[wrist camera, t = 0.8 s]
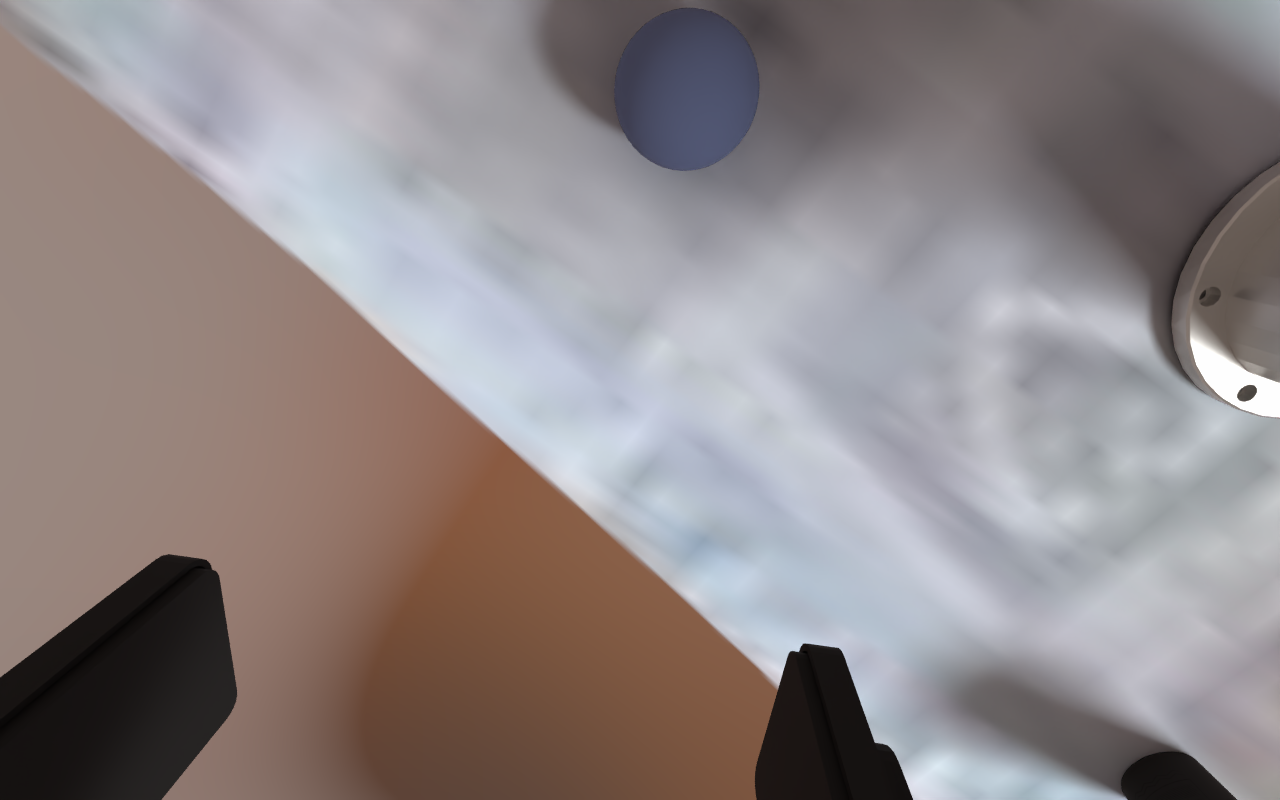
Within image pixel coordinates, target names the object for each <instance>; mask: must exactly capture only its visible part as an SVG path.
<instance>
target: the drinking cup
mask: <svg viewBox="0 0 1280 800" xmlns="http://www.w3.org/2000/svg"><path fill="white" fill-rule="evenodd" d="M1121 786H1122V791H1123V793H1124V795H1125V796H1126V798H1127V799H1128V800H1237V799H1236V798H1235V797H1234V796H1233V795H1232V794H1231V793H1230V792H1229V791H1228V790H1227V789H1226V788H1225V787H1224V786H1222V785H1221V784H1220V783H1219V782H1218V781H1217V780H1216V779H1215V778H1214V777H1213V776H1212V775H1211V774H1210V773H1209V772H1208V771H1207V770H1206V769H1205V768H1204V767H1203V766H1202V765H1201V764H1200V763H1199V762H1198V761H1197V760H1195V759H1194V758H1192V757H1191V756H1188V755H1186V754H1182V753H1177V752H1165V753H1158V754H1154V755H1151V756H1148V757H1145V758H1143V759H1141V760H1139V761H1138V762H1136V763H1135V764H1133V765H1132V766H1131V767H1130V768H1129V769H1128V770H1127V771H1126V773H1125V774H1124V776H1123V778H1122V782H1121Z"/></svg>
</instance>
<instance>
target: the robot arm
mask: <svg viewBox="0 0 1280 800" xmlns="http://www.w3.org/2000/svg"><path fill="white" fill-rule="evenodd" d="M1171 327H1172V334H1173V341H1174V348H1175V351H1176V353H1177V355H1178V358H1179V360H1180V363H1181V365H1182V368H1183V369H1184V371H1185V372H1186V373H1187V374H1188V376H1189V377H1190V378H1191V380H1192V381H1193V382H1194V384H1195V385H1196V386H1197V387H1199V388H1200V389H1201V390H1203V391H1204V392H1205V393H1207V394H1208V395H1209V396H1211V397H1212V398H1213V399H1216V400H1218V401H1220V402H1222V403H1225V404H1227V405H1229V406H1231V407H1233V408H1235V409H1238V410H1241V411H1244V412H1247V413H1250V414H1254V415H1257V416H1261V417H1270V418H1279V419H1280V162H1279V163H1277V164H1276V165H1274V166H1273V167H1271V168H1269V169H1268V170H1266V171H1265V172H1263V173H1261V174H1260V175H1259V176H1258V177H1257V178H1255V179H1254V180H1253V181H1252V182H1251V183H1249V184H1248V185H1247V186H1246V187H1245V188H1243V189H1242V190H1241V191H1240V192H1239V193H1237V194H1236V195H1235V196H1234V197H1233V198H1232V199H1231V200H1230V201H1229V203H1228V204H1227V205H1226V206H1225V207H1224V208H1223V209H1222V210H1221V211H1220V212H1219V213H1218V215H1217V216H1216V217H1215V218H1214V219H1213V220H1212V221H1211V223H1210V224H1209V226H1208V227H1207V228H1206V230H1205V231H1204V233H1203V234H1202V236H1201V237H1200V239H1199V240H1198V242H1197V243H1196V245H1195V246H1194V248H1193V250H1192V252H1191V254H1190V256H1189V258H1188V260H1187V262H1186V264H1185V266H1184V268H1183V271H1182V273H1181V275H1180V279H1179V282H1178V286H1177V289H1176V293H1175V296H1174V300H1173V310H1172V323H1171ZM236 697H237V687H236V682H235V675H234V668H233V662H232V656H231V650H230V643H229V637H228V630H227V624H226V618H225V611H224V604H223V598H222V591H221V585H220V579H219V575H218V573H217V572H216V571H214V570H212V568H211V565H210V563H209V562H208V561H207V560H204V559H199V558H191V557H184V556H177V555H170V554H168V555H163V556H161V557H159V558H158V559H156V560H155V561H153V562H152V563H151V564H149V565H148V566H147V567H145V568H144V569H143V570H141V571H140V572H139V573H137V574H136V575H135V576H134V577H132V578H131V579H130V580H128V581H127V582H126V583H124V584H123V585H122V586H121V587H119V588H118V589H116V590H115V591H114V592H112V593H111V594H110V595H109V596H107V597H106V598H104V599H103V600H102V601H101V602H99V603H98V604H97V605H95V606H94V607H93V608H92V609H90V610H89V611H87V612H86V613H85V614H83V615H82V616H81V617H79V618H78V619H77V620H75V621H74V622H73V623H72V624H70V625H69V626H68V627H66V628H65V629H64V630H62V631H61V632H60V633H58V634H57V635H56V636H54V637H53V638H52V639H50V640H49V641H48V642H46V643H45V644H44V645H42V646H41V647H40V648H39V649H37V650H36V651H35V652H33V653H32V654H31V655H29V656H28V657H27V658H25V659H24V660H23V661H21V662H20V663H19V664H17V665H16V666H15V667H13V668H12V669H11V670H10V671H8V672H7V673H6V674H4V675H3V676H2V677H0V800H162V798H163V797H164V796H165V795H166V793H167V792H168V791H169V789H170V788H171V787H172V786H173V785H174V783H175V782H176V781H177V780H178V779H179V777H180V776H181V775H182V774H183V772H184V771H185V770H186V769H187V767H188V766H189V765H190V764H191V762H192V761H193V760H194V759H195V757H196V756H197V755H198V754H199V753H200V751H201V750H202V749H203V748H204V746H205V745H206V744H207V743H208V741H209V740H210V739H211V738H212V736H213V735H214V734H215V733H216V731H217V730H218V729H219V728H220V726H221V725H222V724H223V723H224V721H225V720H226V719H227V718H228V716H229V715H230V713H231V711H232V709H233V708H234V705H235V702H236ZM755 789H756V798H757V800H913V798H912V795H911V793H910V790H909V788H908V785H907V782H906V780H905V777H904V775H903V772H902V769H901V767H900V764H899V762H898V760H897V758H896V756H895V754H894V752H893V751H892V750H891V748H890V747H889V746H888V745H884V744H879V743H875V742H874V739H873V737H872V734H871V731H870V728H869V725H868V722H867V720H866V717H865V714H864V711H863V708H862V706H861V703H860V700H859V697H858V694H857V691H856V689H855V686H854V683H853V680H852V677H851V674H850V672H849V669H848V666H847V663H846V660H845V658H844V655H843V653H842V651H841V650H840V649H839V648H834V647H827V646H820V645H813V644H803V645H802V646H801V648H800V651H799V652H795V651H791V652H790V653H789V655H788V657H787V661H786V664H785V668H784V671H783V675H782V678H781V682H780V685H779V688H778V692H777V695H776V699H775V702H774V706H773V709H772V713H771V716H770V720H769V723H768V727H767V730H766V734H765V737H764V740H763V744H762V748H761V751H760V754H759V758H758V761H757V766H756V771H755Z"/></svg>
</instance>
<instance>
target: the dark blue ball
mask: <svg viewBox="0 0 1280 800" xmlns="http://www.w3.org/2000/svg"><path fill="white" fill-rule="evenodd" d="M614 93H615V105H616V112H617V115H618V119H619V122H620V124H621V127H622V129H623V131H624V133H625V135H626V137H627V138H628V140H629V141H630V143H631V144H632V145H633V147H634V148H635V149H636V150H637V151H638V152H639V153H640V154H641V155H643V156H644V157H645V158H647V159H648V160H650V161H651V162H653V163H655V164H657V165H659V166H662V167H664V168H668V169H672V170H680V171H687V170H696V169H701V168H704V167H707V166H710V165H712V164H714V163H716V162H718V161H719V160H721V159H723V158H724V157H725V156H727V155H728V154H729V153H730V152H731V151H732V150H733V149H734V148H735V147H736V146H737V145H738V144H739V143H740V141H741V140H742V139H743V137H744V136H745V135H746V133H747V131H748V129H749V127H750V126H751V123H752V121H753V118H754V116H755V112H756V109H757V104H758V98H759V74H758V69H757V64H756V61H755V58H754V55H753V52H752V50H751V48H750V46H749V44H748V43H747V41H746V40H745V38H744V37H743V35H742V34H741V33H740V32H739V30H738V29H737V28H736V27H735V26H734V25H732V24H731V23H730V22H729V21H728V20H726V19H725V18H723V17H721V16H720V15H718V14H715V13H713V12H711V11H707V10H703V9H697V8H681V9H676V10H671V11H669V12H666V13H663V14H661V15H659V16H657V17H655V18H653V19H652V20H651V21H649V22H648V23H646V24H645V25H644V26H643V27H642V28H641V29H640V30H639V31H638V32H637V33H636V34H635V35H634V36H633V38H632V39H631V40H630V42H629V43H628V45H627V47H626V48H625V50H624V52H623V54H622V57H621V59H620V62H619V65H618V68H617V73H616V78H615V88H614Z"/></svg>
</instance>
